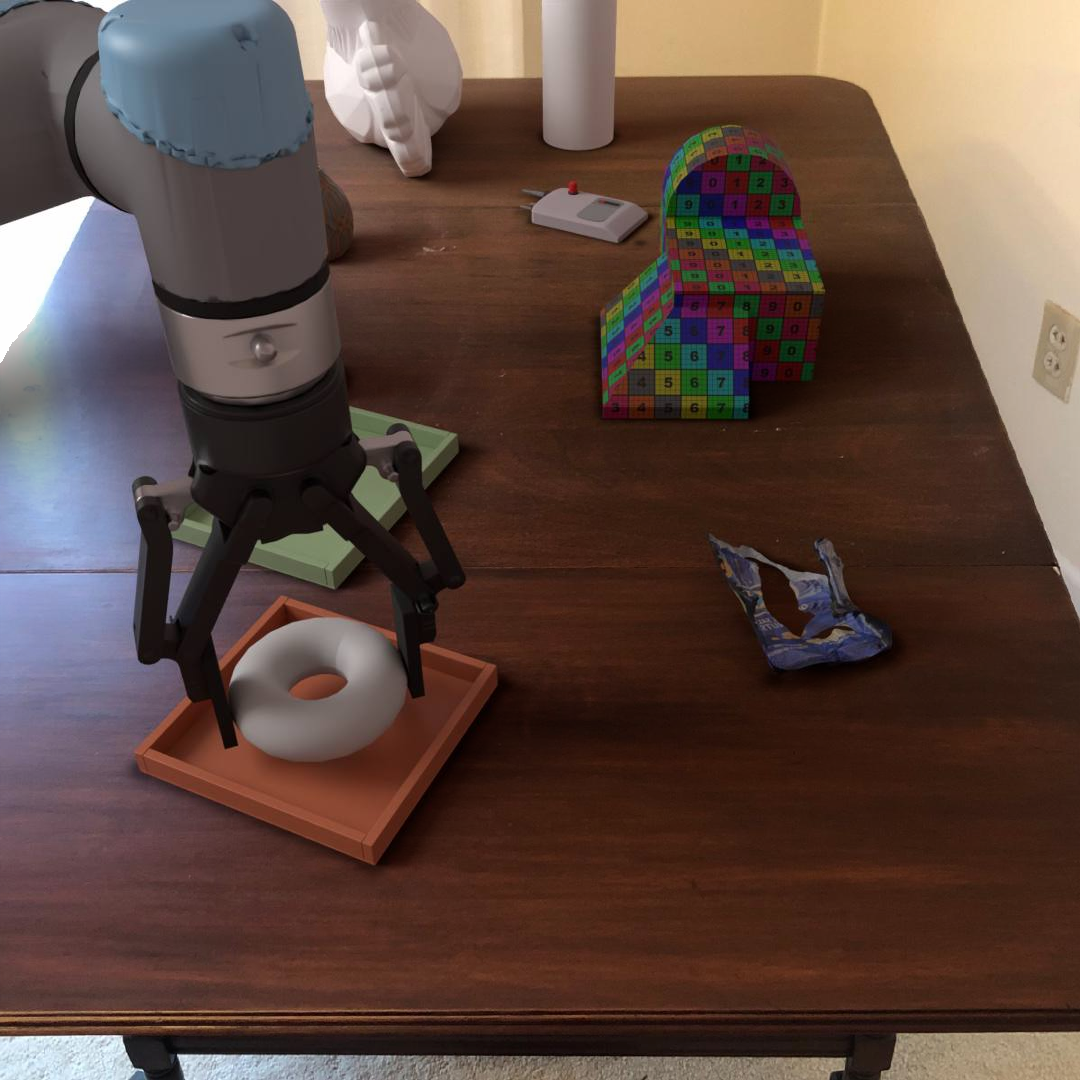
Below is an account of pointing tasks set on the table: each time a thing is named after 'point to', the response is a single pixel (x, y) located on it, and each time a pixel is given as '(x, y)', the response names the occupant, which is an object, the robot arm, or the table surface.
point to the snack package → (813, 596)
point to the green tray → (326, 550)
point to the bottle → (578, 72)
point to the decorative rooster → (391, 76)
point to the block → (716, 287)
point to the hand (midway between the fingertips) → (321, 705)
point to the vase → (335, 216)
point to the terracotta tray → (334, 785)
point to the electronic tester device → (586, 213)
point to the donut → (324, 722)
